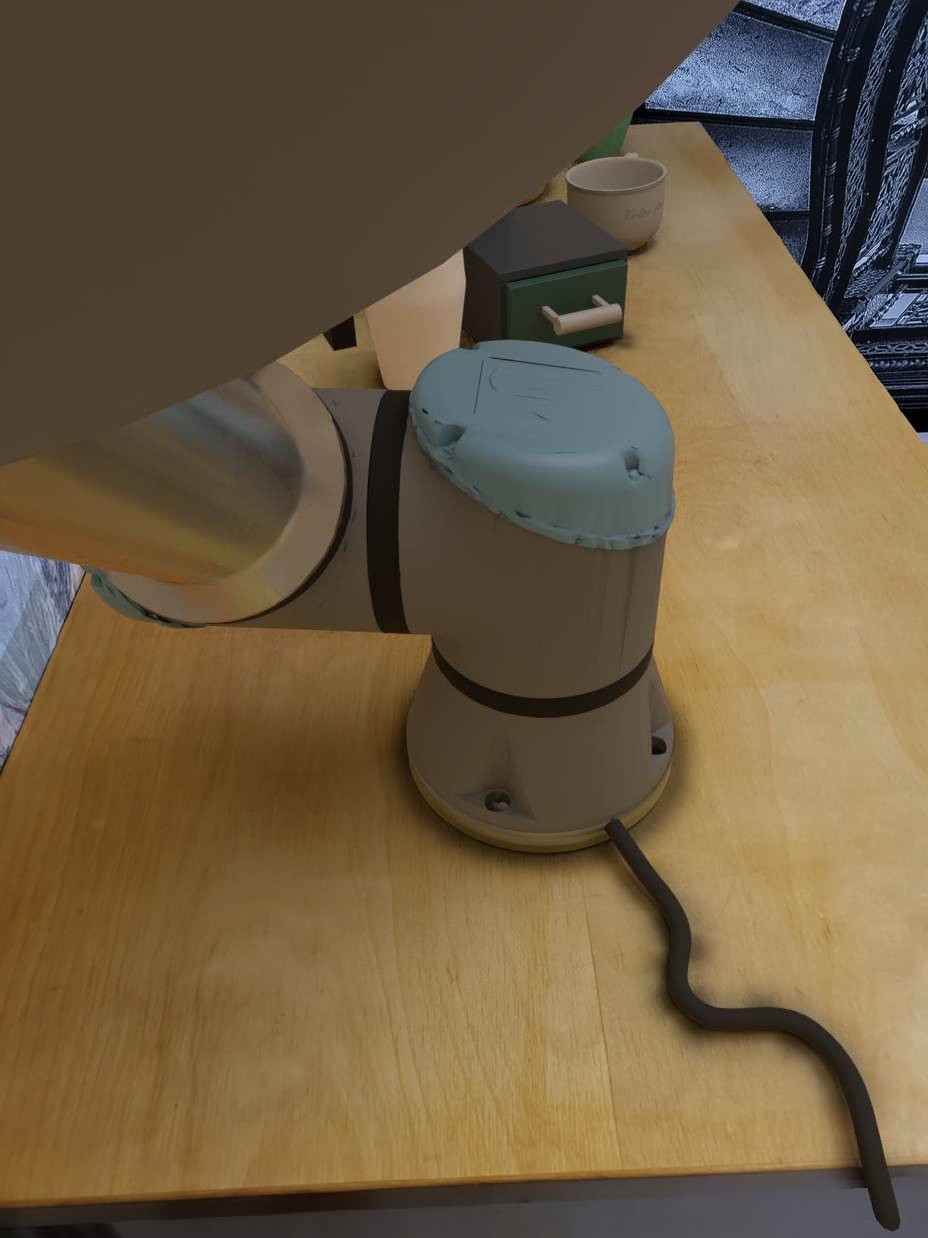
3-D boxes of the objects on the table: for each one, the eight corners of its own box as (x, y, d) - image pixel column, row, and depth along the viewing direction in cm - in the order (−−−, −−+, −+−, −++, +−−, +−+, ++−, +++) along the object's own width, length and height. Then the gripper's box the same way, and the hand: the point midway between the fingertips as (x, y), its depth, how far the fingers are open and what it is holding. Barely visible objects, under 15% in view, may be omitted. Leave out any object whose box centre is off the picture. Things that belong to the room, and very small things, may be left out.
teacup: (635, 269, 108) (641, 193, 103) (546, 251, 113) (548, 177, 107) (685, 225, 117) (693, 153, 112) (601, 210, 121) (605, 140, 116)
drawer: (646, 354, 92) (653, 281, 87) (531, 382, 89) (531, 307, 84) (563, 285, 104) (565, 217, 99) (458, 307, 101) (456, 238, 96)
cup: (457, 408, 88) (452, 274, 80) (358, 400, 89) (343, 268, 81) (477, 359, 94) (474, 231, 86) (384, 353, 96) (372, 226, 88)
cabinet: (621, 338, 96) (628, 247, 91) (499, 366, 93) (498, 273, 87) (557, 284, 106) (560, 198, 100) (444, 308, 103) (440, 221, 97)
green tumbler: (641, 168, 132) (647, 84, 125) (566, 172, 132) (569, 88, 125) (621, 134, 143) (626, 55, 136) (552, 138, 143) (554, 59, 136)
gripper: (386, -149, 51) (416, 296, 67) (127, -128, 48) (223, 335, 63) (439, -137, 46) (458, 343, 62) (151, -113, 42) (250, 389, 58)
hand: (339, 339), depth 62 cm, fingers closed
